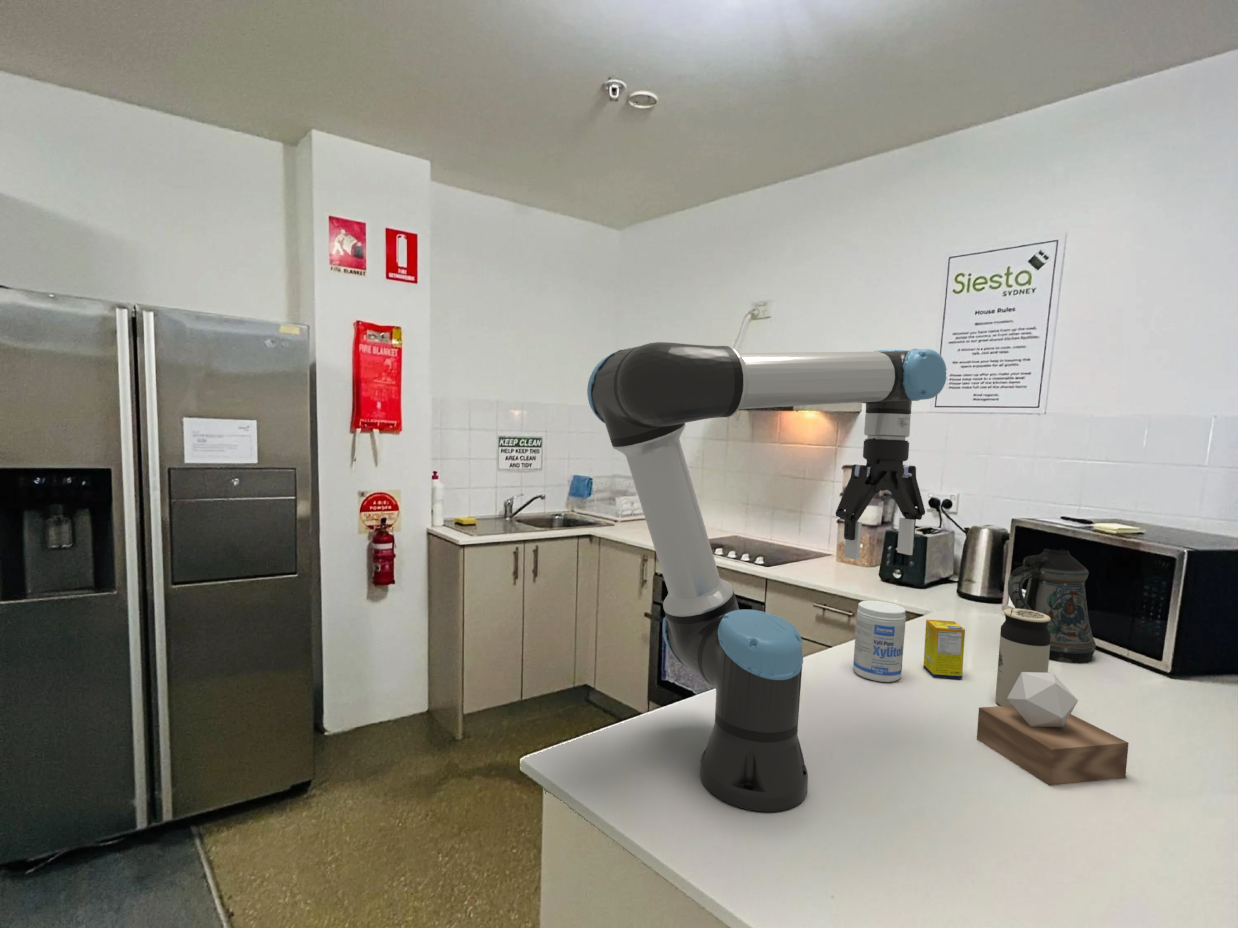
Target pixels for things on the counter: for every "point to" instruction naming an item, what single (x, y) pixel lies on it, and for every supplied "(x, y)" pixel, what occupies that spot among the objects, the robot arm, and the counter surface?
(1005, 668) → the travel mug
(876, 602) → the supplement tub
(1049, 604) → the beer stein
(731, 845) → the counter surface
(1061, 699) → the die
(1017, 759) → the walnut block
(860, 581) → the counter surface
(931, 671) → the supplement box
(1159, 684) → the counter surface
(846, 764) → the counter surface
